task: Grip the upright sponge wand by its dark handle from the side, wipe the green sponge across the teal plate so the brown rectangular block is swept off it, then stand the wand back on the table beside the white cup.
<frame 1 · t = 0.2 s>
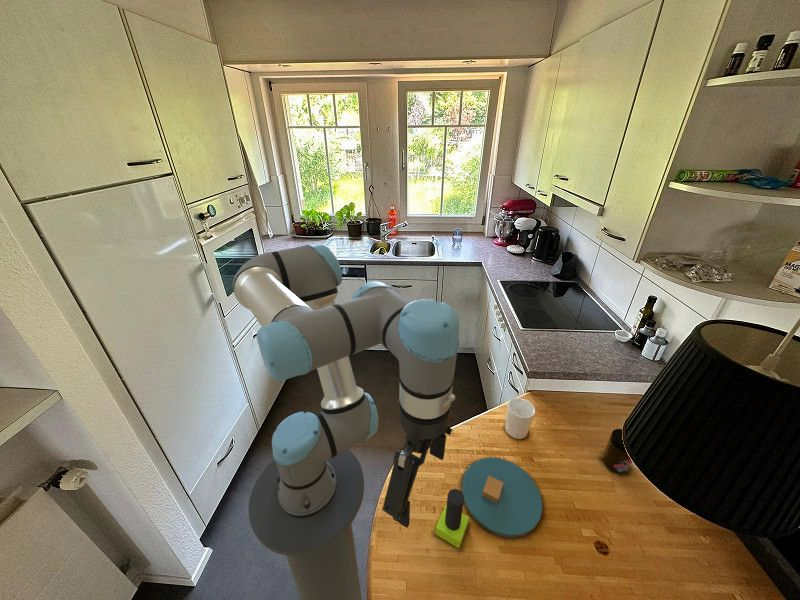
hand: (420, 485, 58), 28 cm above the countertop, tool pointing down, fingers open, 13 cm apart
brown rectangular block: (492, 491, 84), point 1 cm above the countertop, touching plate
white cup: (515, 430, 102), on the countertop
sponge wand: (451, 529, 77), on the countertop
supplement container: (614, 464, 92), on the countertop
plate: (500, 494, 84), on the countertop
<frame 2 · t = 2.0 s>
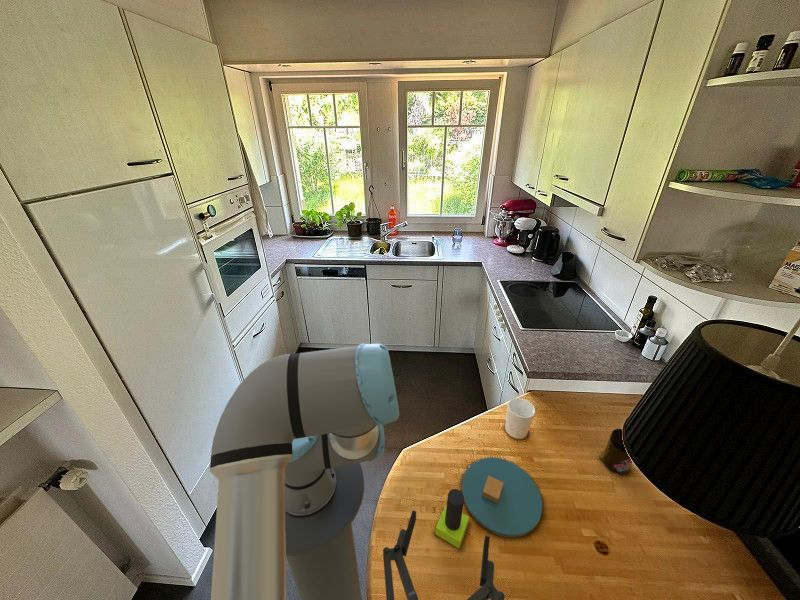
hand: (449, 526, 60), 19 cm above the countertop, tool horizontal, fingers open, 13 cm apart
nothing on the countertop moved.
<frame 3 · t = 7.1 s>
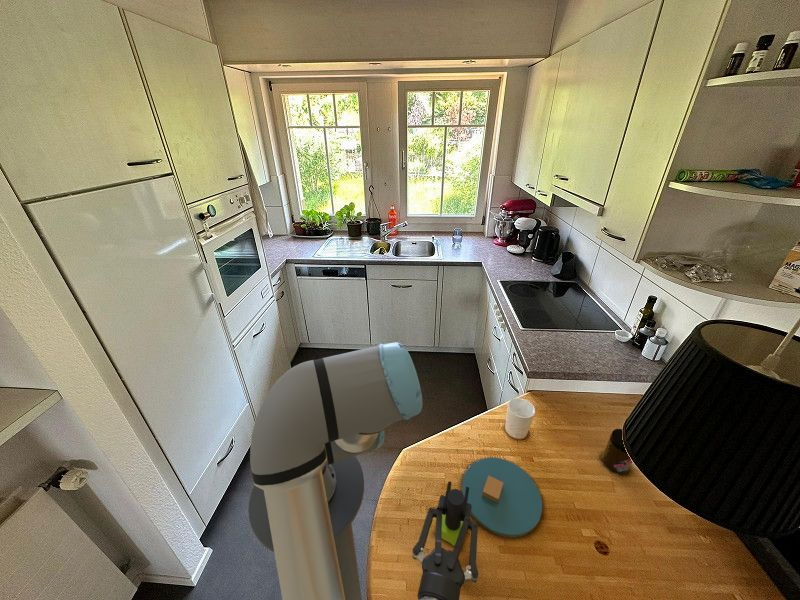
hand: (458, 487, 78), 8 cm above the countertop, tool horizontal, fingers closed on sponge wand, 4 cm apart
sponge wand: (451, 529, 77), on the countertop, touching gripper
everything else where it was.
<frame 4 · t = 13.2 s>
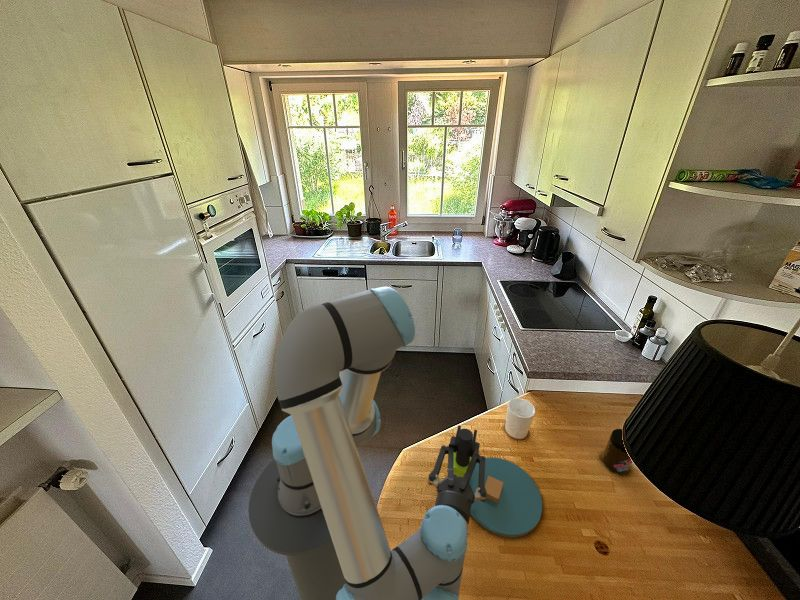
hand: (467, 431, 87), 13 cm above the countertop, tool horizontal, fingers closed on sponge wand, 4 cm apart
sponge wand: (461, 467, 86), point 5 cm above the countertop, touching gripper
everything else where it was.
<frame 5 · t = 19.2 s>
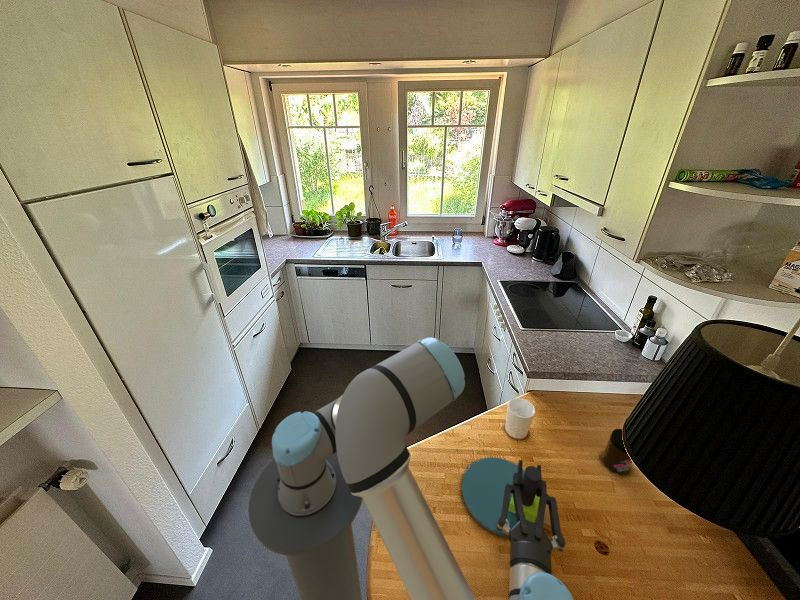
hand: (529, 466, 81), 10 cm above the countertop, tool horizontal, fingers closed on sponge wand, 4 cm apart
brown rectangular block: (544, 517, 78), point 1 cm above the countertop, touching sponge wand
sponge wand: (523, 505, 80), point 2 cm above the countertop, touching brown rectangular block, gripper
everything else where it was.
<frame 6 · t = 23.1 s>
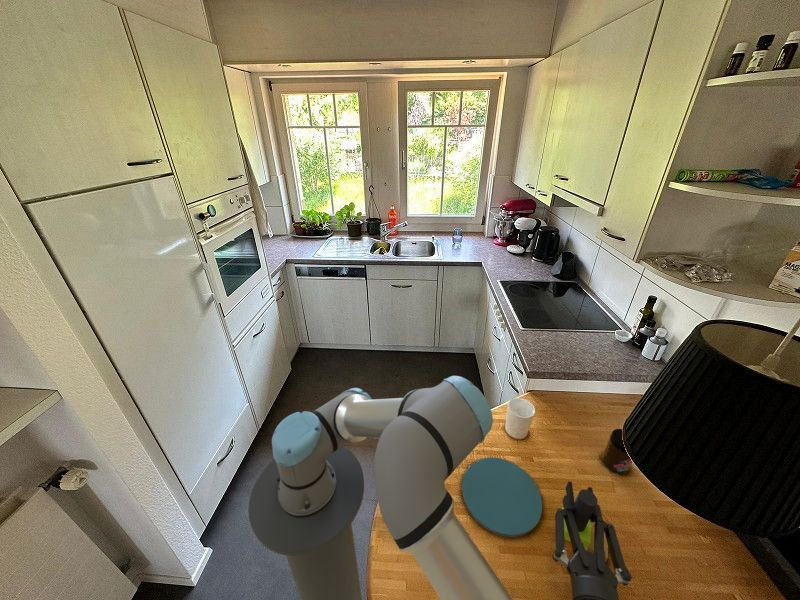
hand: (578, 488, 76), 10 cm above the countertop, tool horizontal, fingers closed on sponge wand, 4 cm apart
brown rectangular block: (595, 546, 74), on the countertop, touching sponge wand
sponge wand: (573, 530, 75), point 2 cm above the countertop, touching brown rectangular block, gripper
everything else where it was.
when the fingers open (8 cm above the countertop, at t = 31.1 s): sponge wand stays where it is, on the countertop.
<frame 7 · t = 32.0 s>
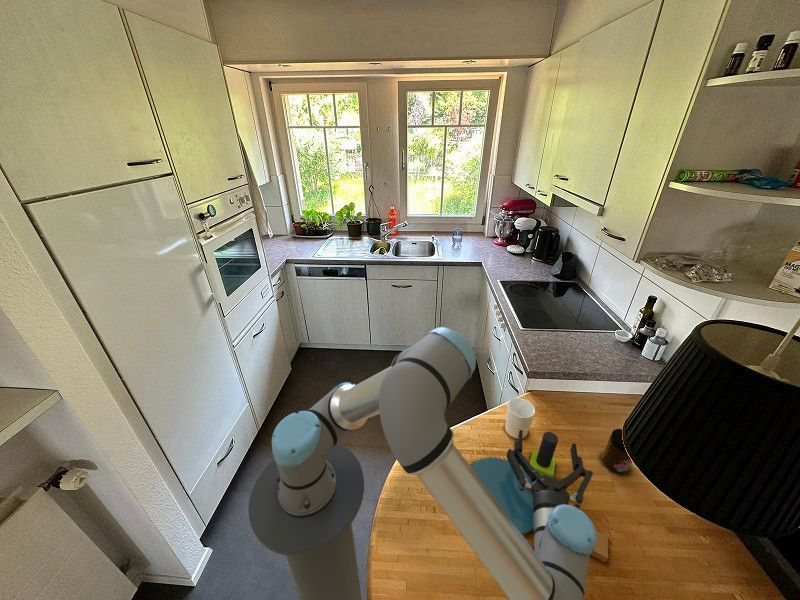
hand: (546, 439, 90), 8 cm above the countertop, tool horizontal, fingers open, 13 cm apart
brown rectangular block: (595, 546, 74), on the countertop
sponge wand: (540, 468, 91), on the countertop
everything else where it was.
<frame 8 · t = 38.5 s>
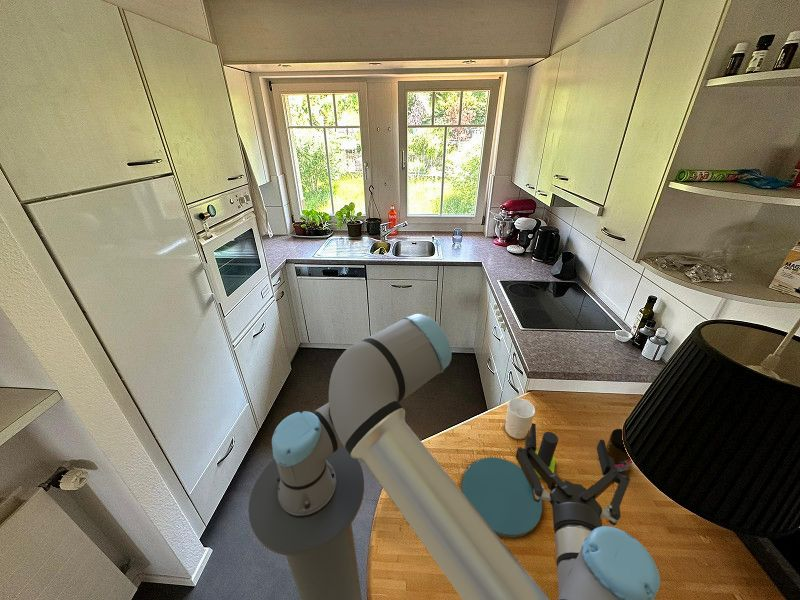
hand: (565, 435, 71), 25 cm above the countertop, tool horizontal, fingers open, 13 cm apart
nothing on the countertop moved.
at the end: brown rectangular block inside the target area (1.5 cm from its centre), on the countertop; sponge wand inside the target area on the countertop beside the white cup (0.0 cm from its centre), on the countertop; sponge wand tilted 0° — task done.
